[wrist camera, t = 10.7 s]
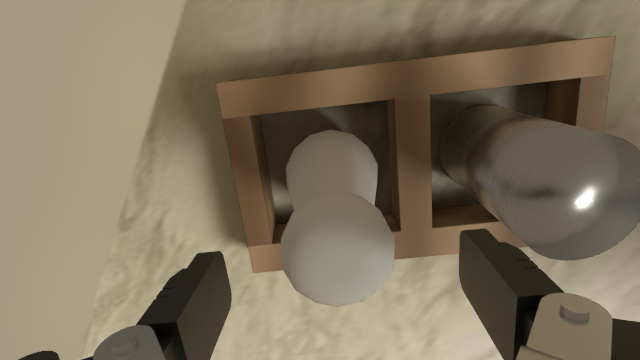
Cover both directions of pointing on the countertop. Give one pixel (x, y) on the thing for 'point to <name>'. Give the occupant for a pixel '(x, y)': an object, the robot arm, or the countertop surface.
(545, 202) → the pepper shaker
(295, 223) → the salt shaker
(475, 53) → the spice rail
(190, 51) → the countertop surface
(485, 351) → the countertop surface
